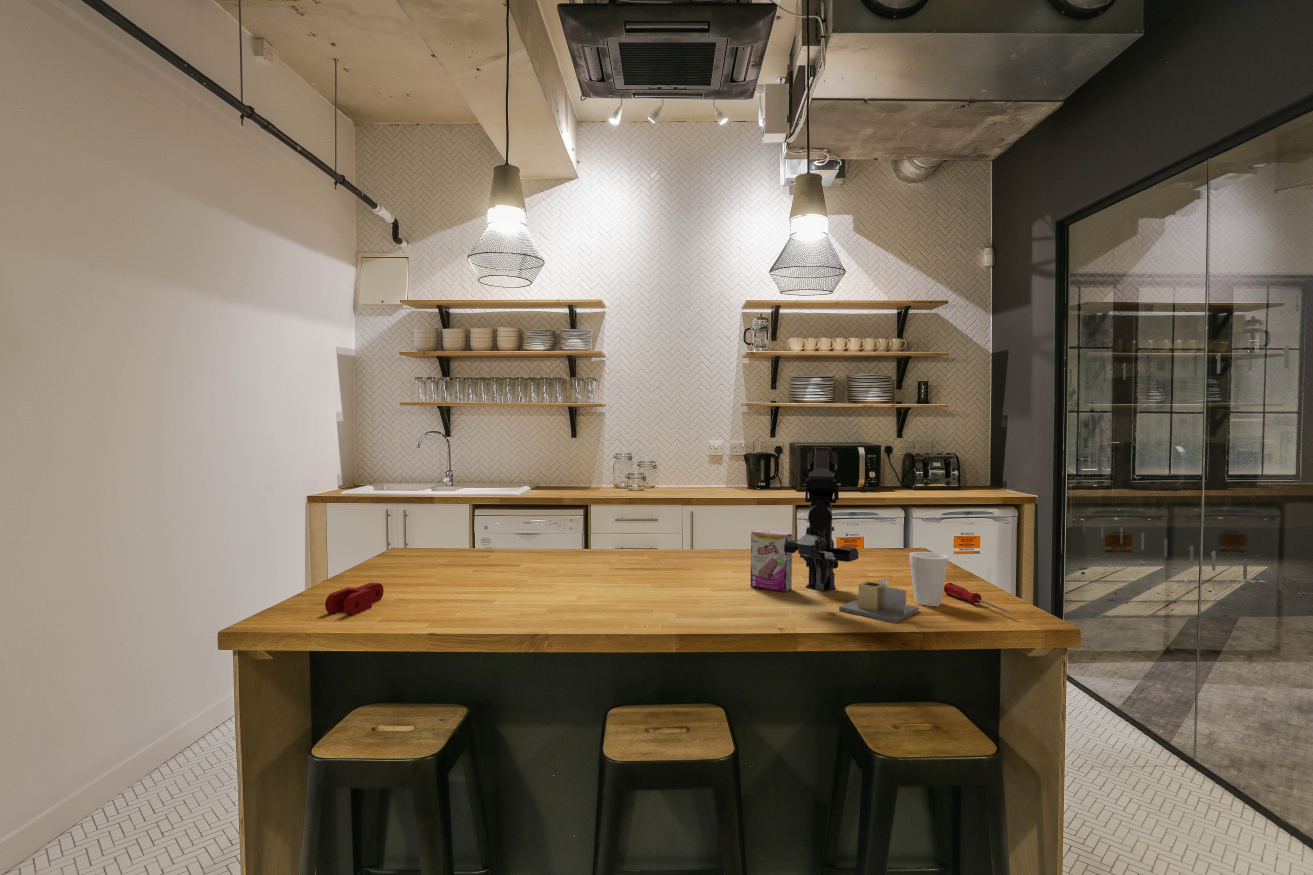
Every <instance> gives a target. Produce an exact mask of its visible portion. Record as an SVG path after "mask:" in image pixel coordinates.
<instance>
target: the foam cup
mask: <svg viewBox="0 0 1313 875" xmlns="http://www.w3.org/2000/svg"><path fill="white" fill-rule="evenodd" d="M909 564H910V569H911V570H910V572H911V579H912V587H913V596H914V601H916V602H918V603H920V604H924V605H939V604H941V605H942V600H943V594H944V586H945V582H946V581H945V580H946V577H947V576H946V575H947V568H948V566H949V556H948V555H946V554H943V553H938V552H934V551H932V552H931V551H913V552H909ZM916 602H915V603H916Z"/></svg>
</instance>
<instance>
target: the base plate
mask: <svg viewBox="0 0 1313 875" xmlns="http://www.w3.org/2000/svg"><path fill="white" fill-rule="evenodd" d="M839 610H843V611H847V612H846V613H848V612H852V613H855V614H854V615H857V614H859V615H858V616H861V615H864V616H863V617H866V616H869V617H868V618H871V617H873V618H872V619H875V618H877V619H876V620H880V619H882V620H881V621H884V620H886V622H889V621H890V622H889V623H893V622H895V623H894V624H898V623H900V622H902V621H903V620H902V619H904V618H905V619H907V618H908V616H909V615H911V614H913V613H914V612H916V611H918V610H919V611H920V607H919V606H914V605H909V604H906V614H905V615H902V614H897V613H892V612H887V611H883V610H880V611H878V612H875V611H871V610H866V609H861V608H858V598H857V599H854V600H852V601H849V602H847V603H845V604H843V605H841V606H840V605H839V607H838V611H839ZM843 611H842V612H843ZM919 611H918V612H919ZM852 613H851V614H852ZM916 613H917V612H916ZM913 615H914V614H913ZM911 616H912V615H911ZM906 617H907V618H906ZM909 617H910V616H909ZM905 619H904V620H905ZM901 620H902V621H901ZM899 621H900V622H899Z"/></svg>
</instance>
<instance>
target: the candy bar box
mask: <svg viewBox="0 0 1313 875" xmlns="http://www.w3.org/2000/svg"><path fill="white" fill-rule="evenodd" d="M750 539H751V540H750V542H751V543H750V588H755V589H756V588H757V589H762V590H768V589H769V590H770V591H774V590H776V591H775V592H781V591H783V592H782V593H787V592H789V591H790V590H792V585H793V584H792V583H793V582H792V578H793V575H792V573H793V569H792V568H793V553H788V552H784V544H785V542H786V541H790V540H793V533H791V532H790V533H789V532H782V531H781V532H780V531H772V530H771V531H770V530H764V529H763V530H762V529H756V530H753V531H751V536H750ZM789 589H790V590H789ZM769 590H768V591H769ZM788 590H789V591H788ZM786 591H787V592H786Z"/></svg>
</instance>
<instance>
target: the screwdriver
mask: <svg viewBox="0 0 1313 875" xmlns="http://www.w3.org/2000/svg"><path fill="white" fill-rule="evenodd" d="M943 593H945V594H946V593H948V594H950V595H949V596H951V595H952V596H951V597H953V596H955V597H954V598H956V597H958V598H961V599H960V600H964V599H965V600H966V601H968V602H970V603H971V604H972V603H980V604H981V603H982V604H985V605H987V606H990V607H993V608H995V609H997V610H1000V611H1001V612H1002V611H1003V612H1005V613H1008V614H1011V615H1012V614H1015V613H1014V612H1012V611H1009V610H1007V609H1005V608H1002V607H1000V606H998V605H995V604H993V603H989V602H988V601H984V600H982V595H981V594H980V593H978V592H971V591H969V590H968V589H967V588H965V587H962V586H959V585H957V584H955V583H953V582H946V583H944V588H943ZM948 594H947V595H948ZM958 598H957V599H958ZM965 600H964V601H965Z"/></svg>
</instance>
